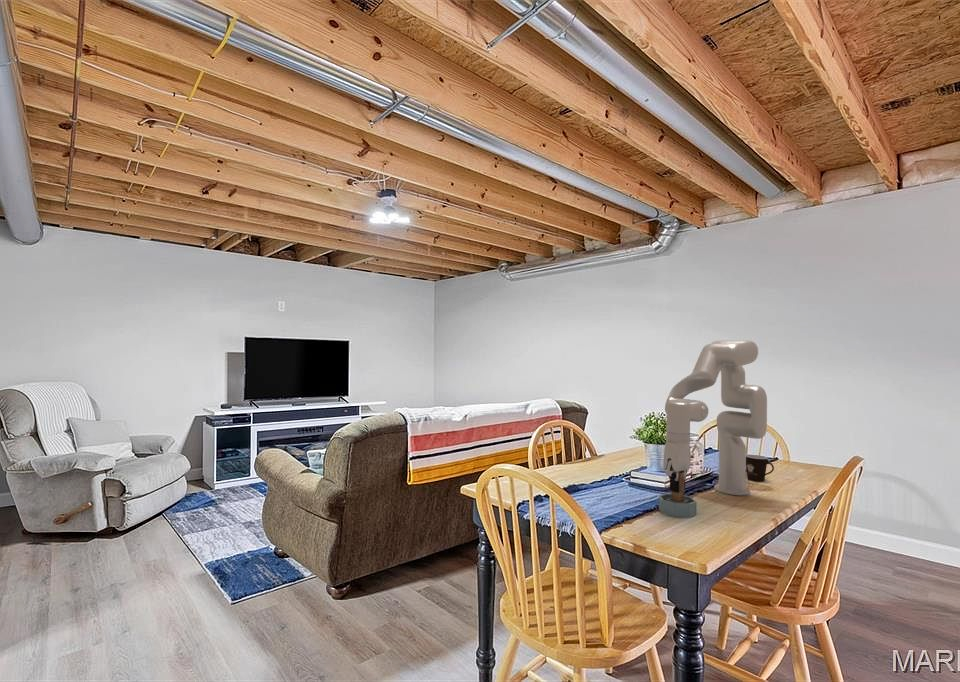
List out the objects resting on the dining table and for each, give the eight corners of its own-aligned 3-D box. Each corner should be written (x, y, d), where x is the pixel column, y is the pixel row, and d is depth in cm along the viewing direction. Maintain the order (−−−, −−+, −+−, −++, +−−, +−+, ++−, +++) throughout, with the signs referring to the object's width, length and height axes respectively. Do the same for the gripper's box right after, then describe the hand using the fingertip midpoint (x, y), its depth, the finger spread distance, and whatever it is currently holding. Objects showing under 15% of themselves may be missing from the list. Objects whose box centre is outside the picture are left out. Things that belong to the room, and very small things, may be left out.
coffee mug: (740, 476, 215) (741, 454, 215) (760, 477, 214) (760, 454, 214) (754, 484, 203) (754, 460, 203) (775, 485, 203) (775, 460, 203)
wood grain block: (676, 504, 169) (676, 470, 169) (684, 507, 167) (684, 472, 167) (671, 506, 167) (671, 471, 168) (679, 508, 165) (679, 473, 165)
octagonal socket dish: (671, 504, 175) (671, 491, 175) (701, 513, 166) (701, 500, 166) (653, 510, 168) (653, 497, 168) (683, 519, 159) (683, 506, 159)
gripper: (680, 433, 175) (680, 484, 175) (654, 438, 166) (654, 492, 165) (701, 436, 169) (700, 489, 169) (675, 441, 160) (674, 498, 159)
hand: (677, 490), depth 167 cm, fingers closed on wood grain block, 3 cm apart
